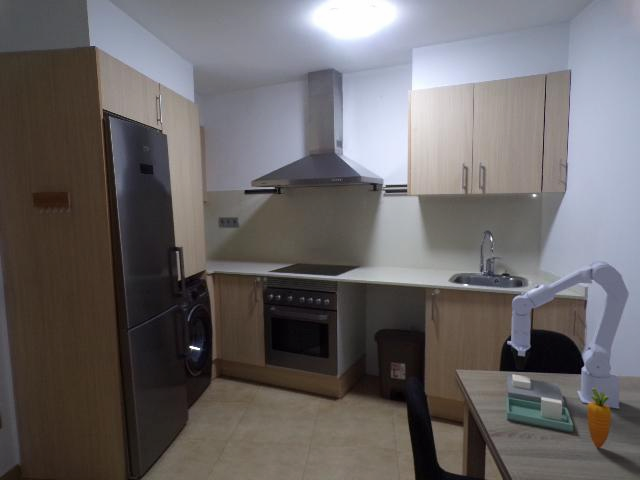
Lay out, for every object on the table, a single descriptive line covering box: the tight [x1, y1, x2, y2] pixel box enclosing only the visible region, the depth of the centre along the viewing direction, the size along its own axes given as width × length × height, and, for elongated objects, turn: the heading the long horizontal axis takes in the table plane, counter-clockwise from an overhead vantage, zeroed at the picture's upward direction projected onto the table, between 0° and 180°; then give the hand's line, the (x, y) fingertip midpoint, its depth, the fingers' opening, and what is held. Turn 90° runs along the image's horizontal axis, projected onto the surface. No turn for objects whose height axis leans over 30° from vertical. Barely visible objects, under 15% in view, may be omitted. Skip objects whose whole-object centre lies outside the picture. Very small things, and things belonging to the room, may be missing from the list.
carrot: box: [587, 388, 612, 449], centre depth 94 cm, size 5×5×15 cm
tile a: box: [541, 397, 562, 421], centre depth 108 cm, size 5×5×2 cm
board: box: [506, 375, 565, 407], centre depth 120 cm, size 15×13×4 cm
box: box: [505, 396, 574, 434], centre depth 108 cm, size 16×10×2 cm, turn 65°
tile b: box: [511, 374, 531, 389], centre depth 122 cm, size 5×5×2 cm
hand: (519, 369), depth 128 cm, fingers closed
